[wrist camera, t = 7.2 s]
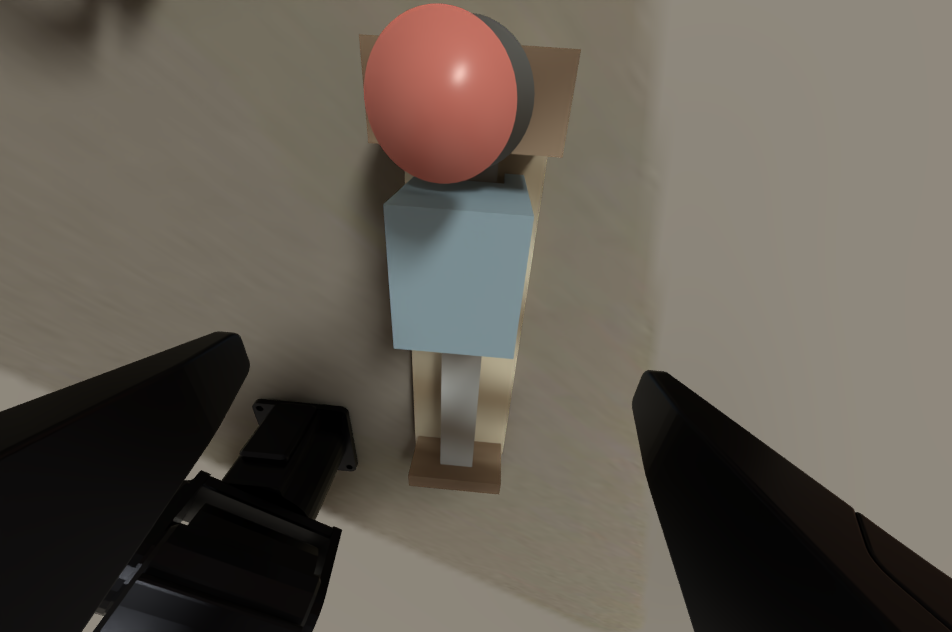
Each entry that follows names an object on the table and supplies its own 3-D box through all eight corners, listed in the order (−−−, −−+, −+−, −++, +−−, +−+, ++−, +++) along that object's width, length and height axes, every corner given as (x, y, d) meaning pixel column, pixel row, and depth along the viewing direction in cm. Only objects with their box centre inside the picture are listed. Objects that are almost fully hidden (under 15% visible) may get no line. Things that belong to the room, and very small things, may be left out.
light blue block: (510, 282, 18) (513, 359, 13) (425, 275, 18) (393, 348, 13) (524, 175, 15) (534, 216, 10) (423, 167, 15) (383, 204, 10)
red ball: (507, 168, 8) (508, 188, 6) (399, 160, 8) (371, 177, 6) (520, 30, 7) (526, 9, 5) (393, 22, 7) (355, -2, 5)
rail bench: (502, 441, 26) (502, 529, 20) (418, 433, 26) (397, 519, 21) (560, 48, 14) (594, 21, 9) (405, 38, 14) (346, 4, 9)
